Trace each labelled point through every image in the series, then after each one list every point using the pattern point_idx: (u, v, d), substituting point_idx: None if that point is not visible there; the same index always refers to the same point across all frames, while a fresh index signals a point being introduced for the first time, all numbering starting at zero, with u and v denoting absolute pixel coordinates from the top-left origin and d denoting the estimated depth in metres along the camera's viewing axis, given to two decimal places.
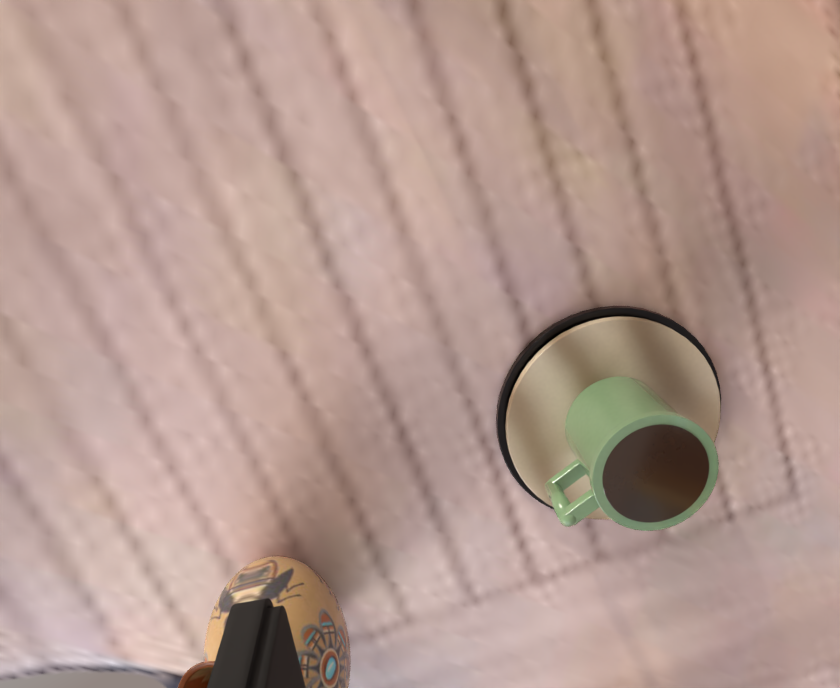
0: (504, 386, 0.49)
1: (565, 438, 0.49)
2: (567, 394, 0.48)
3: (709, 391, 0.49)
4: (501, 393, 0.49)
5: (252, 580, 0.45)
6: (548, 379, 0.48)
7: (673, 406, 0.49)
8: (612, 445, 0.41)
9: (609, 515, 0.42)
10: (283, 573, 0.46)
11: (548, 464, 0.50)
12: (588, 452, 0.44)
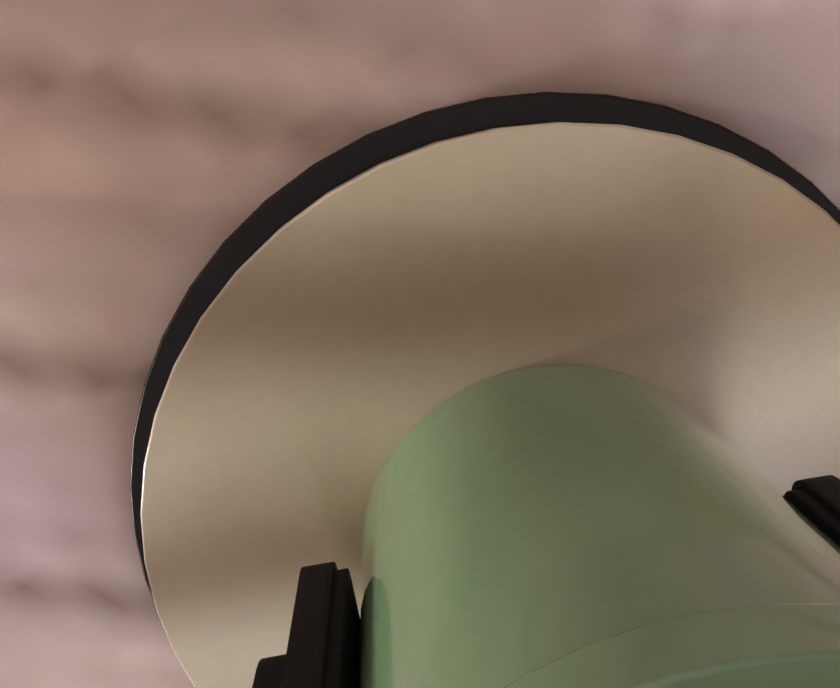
0: None
1: None
2: None
3: (650, 173, 0.11)
4: None
5: None
6: None
7: (618, 329, 0.12)
8: None
9: None
10: None
11: None
12: None
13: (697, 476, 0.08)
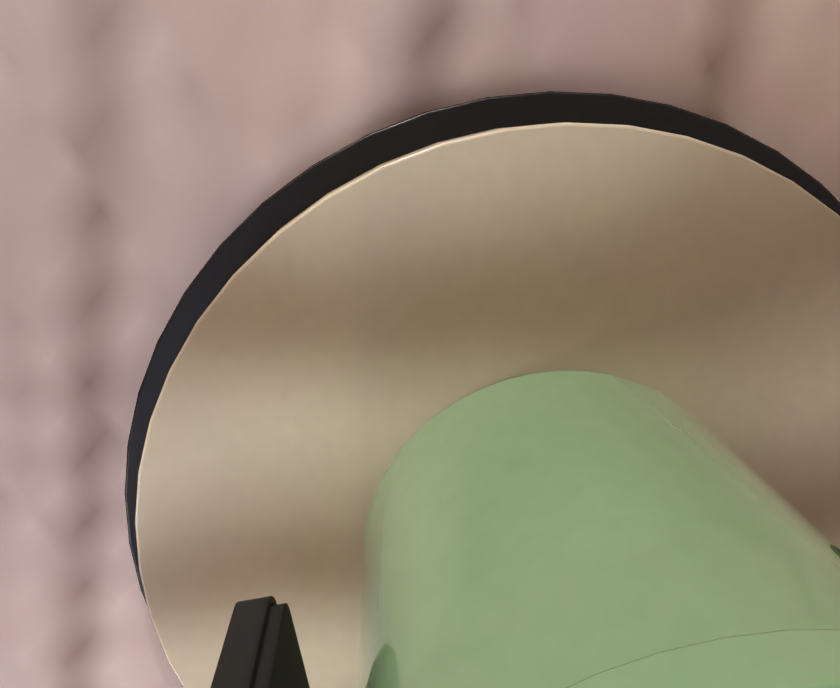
0: (248, 217, 0.12)
1: None
2: (355, 640, 0.13)
3: (658, 175, 0.11)
4: (226, 239, 0.12)
5: None
6: None
7: (624, 334, 0.12)
8: None
9: None
10: None
11: None
12: None
13: (710, 488, 0.08)
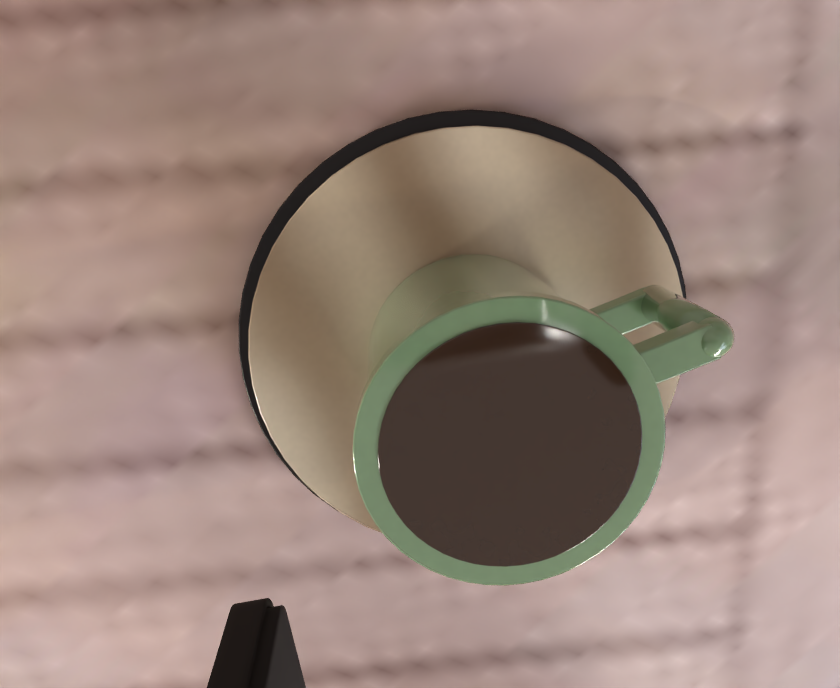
0: None
1: None
2: None
3: (268, 366, 0.24)
4: None
5: None
6: None
7: (346, 356, 0.24)
8: (588, 545, 0.18)
9: (649, 378, 0.17)
10: None
11: None
12: None
13: None
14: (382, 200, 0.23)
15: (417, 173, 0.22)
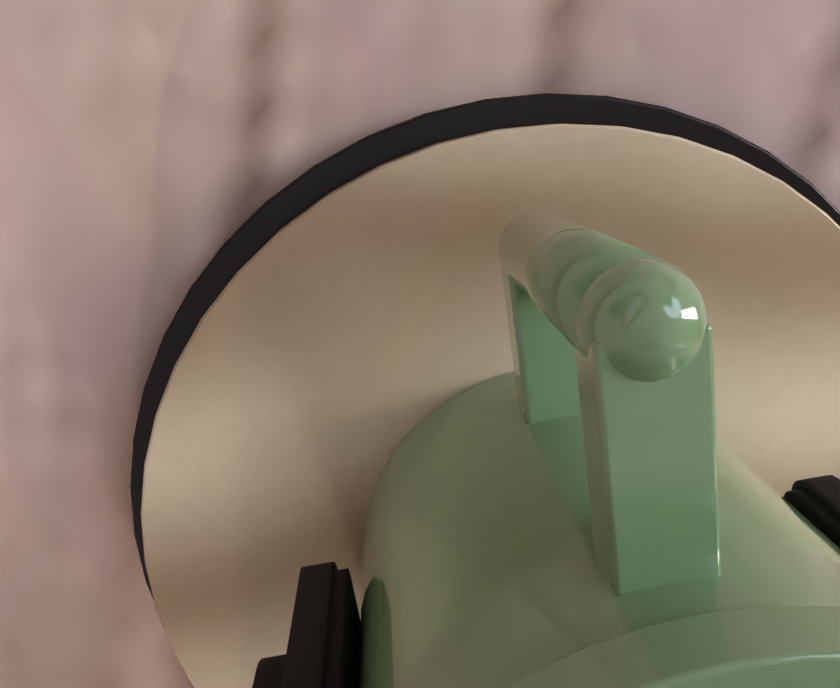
0: None
1: None
2: (751, 445, 0.13)
3: None
4: None
5: None
6: None
7: None
8: None
9: None
10: None
11: None
12: None
13: None
14: (245, 626, 0.13)
15: (210, 569, 0.13)
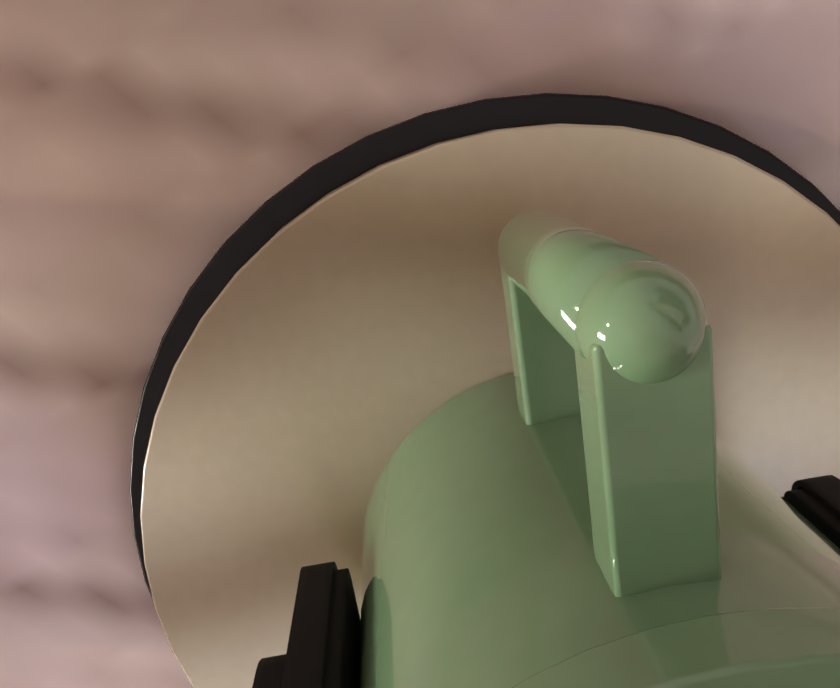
0: None
1: None
2: (751, 445, 0.13)
3: None
4: None
5: None
6: None
7: None
8: None
9: None
10: None
11: None
12: None
13: None
14: (245, 627, 0.13)
15: (209, 571, 0.13)
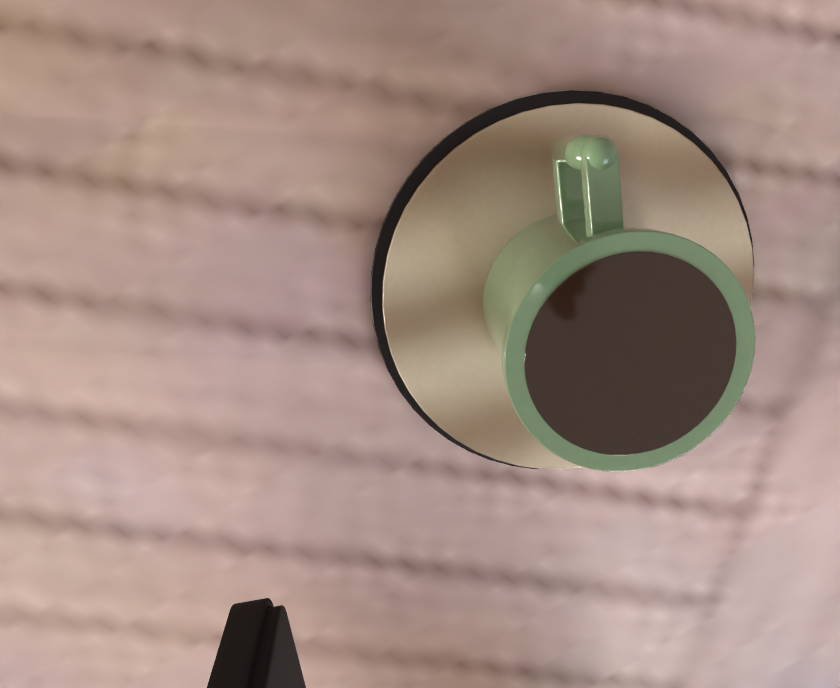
0: (419, 414, 0.31)
1: None
2: None
3: (528, 453, 0.30)
4: None
5: None
6: (707, 238, 0.28)
7: None
8: (738, 311, 0.21)
9: (607, 239, 0.20)
10: None
11: None
12: None
13: None
14: (425, 341, 0.29)
15: (412, 310, 0.28)
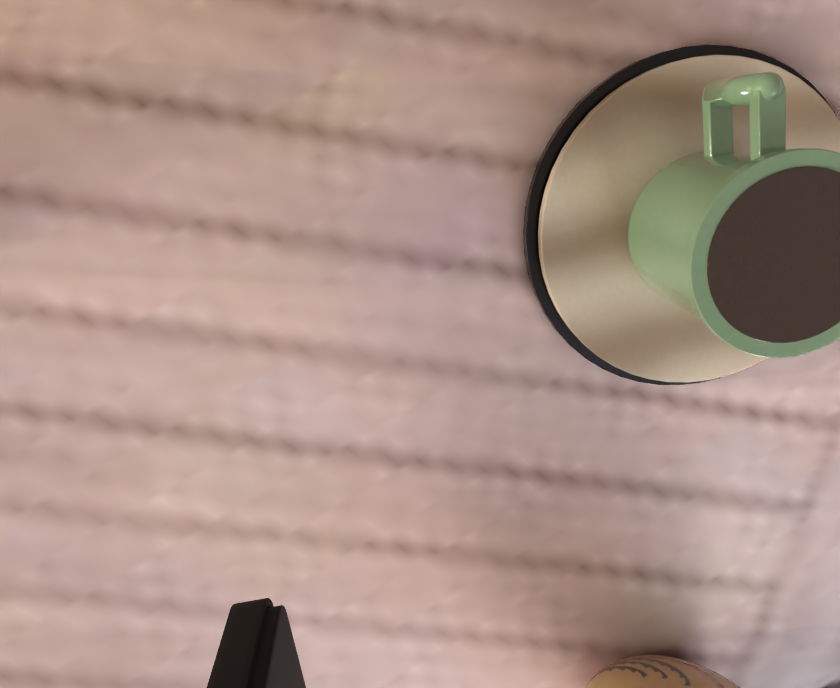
0: (561, 335, 0.35)
1: None
2: None
3: (660, 368, 0.34)
4: None
5: None
6: None
7: (671, 315, 0.34)
8: None
9: (782, 155, 0.24)
10: None
11: None
12: None
13: None
14: (576, 266, 0.33)
15: (566, 239, 0.32)
